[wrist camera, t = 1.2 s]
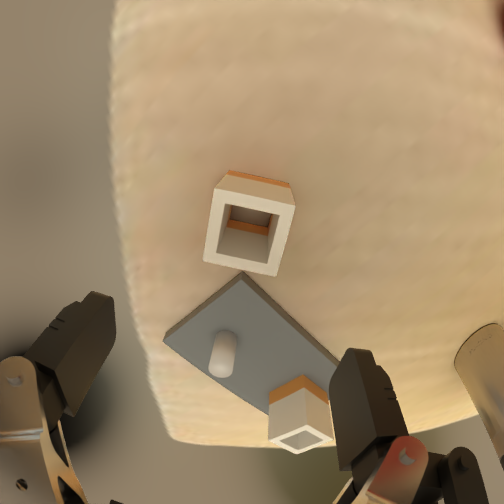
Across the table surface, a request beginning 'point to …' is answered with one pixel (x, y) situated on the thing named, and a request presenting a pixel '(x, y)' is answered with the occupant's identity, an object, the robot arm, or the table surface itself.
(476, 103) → the table surface
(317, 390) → the pin board
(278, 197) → the sleeve
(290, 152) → the table surface
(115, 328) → the robot arm
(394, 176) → the table surface
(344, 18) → the table surface
